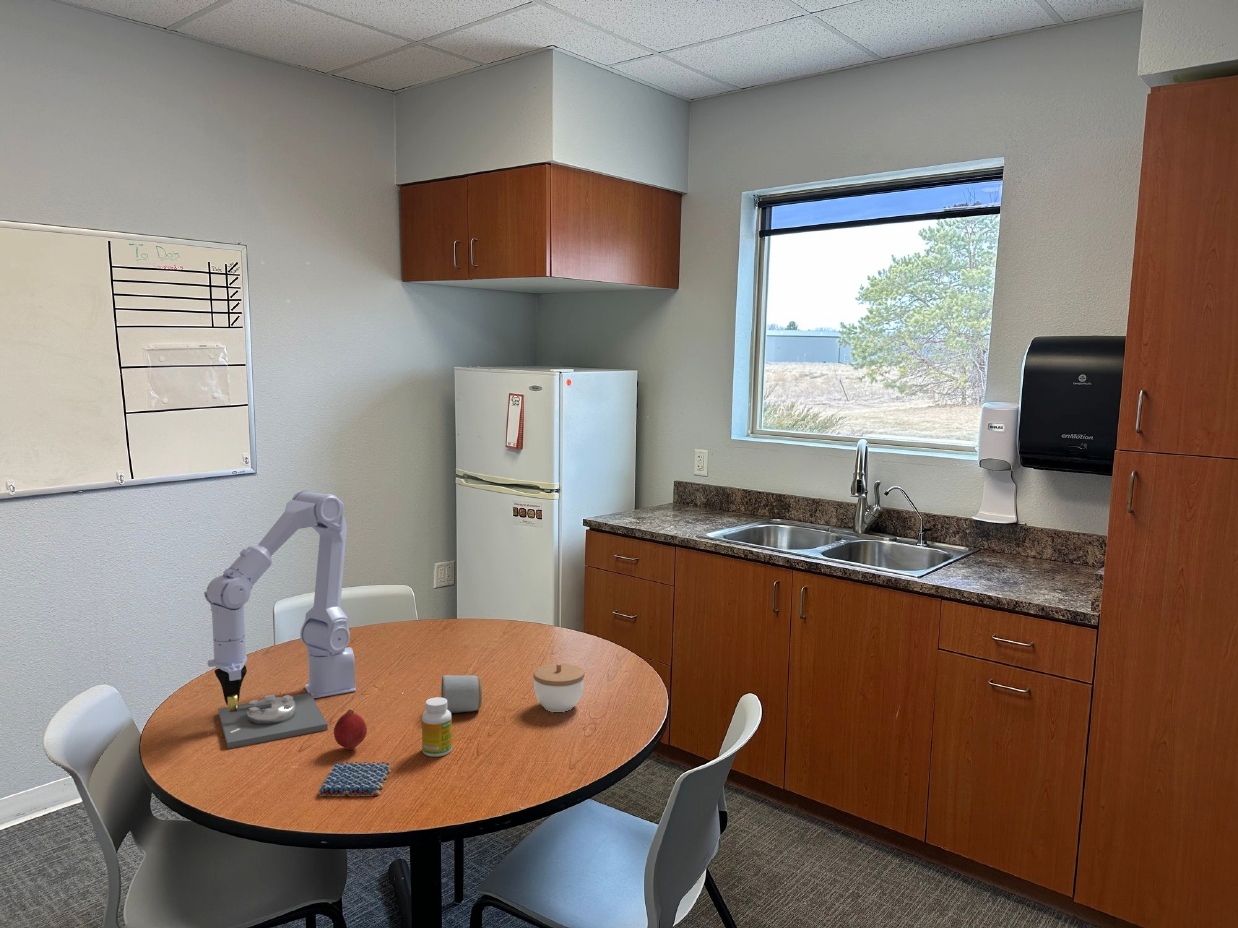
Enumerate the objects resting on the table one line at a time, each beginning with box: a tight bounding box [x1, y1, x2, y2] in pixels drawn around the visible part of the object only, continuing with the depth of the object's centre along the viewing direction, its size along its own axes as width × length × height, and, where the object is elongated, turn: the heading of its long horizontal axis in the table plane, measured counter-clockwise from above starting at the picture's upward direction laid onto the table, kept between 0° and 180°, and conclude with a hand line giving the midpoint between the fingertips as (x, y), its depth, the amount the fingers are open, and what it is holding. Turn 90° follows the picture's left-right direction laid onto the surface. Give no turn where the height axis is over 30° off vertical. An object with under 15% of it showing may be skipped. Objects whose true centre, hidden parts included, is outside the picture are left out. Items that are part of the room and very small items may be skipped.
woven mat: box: [317, 761, 392, 797], centre depth 150 cm, size 10×11×2 cm
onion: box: [333, 708, 368, 751], centre depth 162 cm, size 6×6×8 cm
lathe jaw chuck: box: [227, 694, 296, 725], centre depth 173 cm, size 12×9×5 cm
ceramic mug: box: [440, 674, 483, 714], centre depth 182 cm, size 11×8×8 cm
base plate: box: [217, 692, 329, 750], centre depth 174 cm, size 18×18×1 cm
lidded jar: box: [532, 662, 585, 713], centre depth 183 cm, size 11×11×9 cm
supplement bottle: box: [421, 696, 453, 758], centre depth 162 cm, size 5×5×10 cm
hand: (232, 703), depth 172 cm, fingers closed
